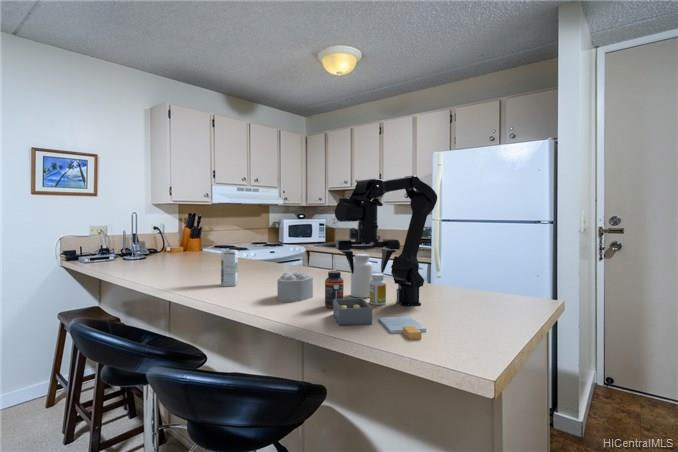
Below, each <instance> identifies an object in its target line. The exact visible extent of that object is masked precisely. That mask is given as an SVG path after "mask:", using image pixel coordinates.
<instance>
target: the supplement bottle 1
mask: <svg viewBox="0 0 678 452" xmlns="http://www.w3.org/2000/svg"><path fill="white" fill-rule="evenodd" d="M327 273H328V274H327V276H328V277H327V278H325V280H324V291H325V292H324V306H325V307H326V308H327V309H333V299H344V279H343V278H342V277H341V275H342V274H341V271H339V270H331V271H330V270H329V271H328V272H327Z"/></svg>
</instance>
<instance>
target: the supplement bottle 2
mask: <svg viewBox="0 0 678 452" xmlns="http://www.w3.org/2000/svg"><path fill="white" fill-rule="evenodd" d="M384 278H385V274H384V273H377V272H376V273H373V274H372V279H373V280H371V281H370V297H369V303H370V304H371V305H375V306H382V305H385V304H386V303H387V282H386V280H384Z"/></svg>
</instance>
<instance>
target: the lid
mask: <svg viewBox="0 0 678 452" xmlns="http://www.w3.org/2000/svg"><path fill="white" fill-rule="evenodd" d="M378 321H379V323H380V324H381V325H383V327H384V328H385V329H386V330H387V331H388V332H389V334H403V335H405V337H406V338H407V339H408V340H418V339H419V340H420V339H422V333H423V332H424V333H425V332H427V328H426V327H425V326H424V325H422V324H421V323H420V322H419V321H417V320H416V319H415V318H413V317H412V316H411V315H407V316H406V315H405V316H389V317H388V316H387V317H386V316H385V317H378Z"/></svg>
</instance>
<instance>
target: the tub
mask: <svg viewBox="0 0 678 452" xmlns="http://www.w3.org/2000/svg"><path fill="white" fill-rule="evenodd" d="M332 309H333V312H332V313H333V316H334V318H335V321H336V322H337V324H338V326H339V327H344V326H345V327H347V326H348V327H350V326H365V325H366V326H367V325H373V307H372V306H371V305H370V304H369V303H368V302H367V301H366V300H365V298H357V297H353V298H343V299H333V308H332Z"/></svg>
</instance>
